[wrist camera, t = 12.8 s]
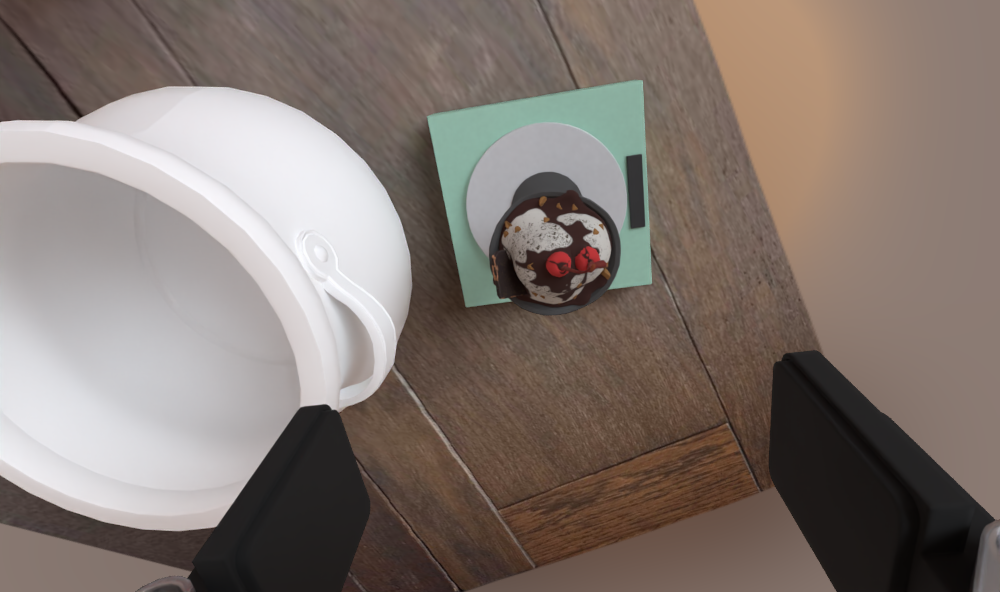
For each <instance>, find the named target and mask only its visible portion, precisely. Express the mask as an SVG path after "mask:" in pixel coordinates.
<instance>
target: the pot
mask: <svg viewBox="0 0 1000 592" xmlns="http://www.w3.org/2000/svg"><path fill="white" fill-rule="evenodd" d="M411 291H412V276H411V261H410V253H409V249H408V246H407V242H406V238H405V235H404V231H403V227H402V224H401V221H400V218H399V216H398V214H397V212H396V210H395V208H394V206H393V204H392V202H391V200H390V198H389V196H388V194H387V192H386V190H385V188H384V187H383V185H382V184H381V183H380V181H379V180H378V178H377V177H376V176H375V174H374V173H373V172H372V170H371V169H370V168H369V166H368V165H367V163H366V162H365V161H364V160H363V159H362V158H361V157H360V156H359V155H358V154H357V153H356V152H354V151H353V150H352V149H351V148H350V147H349V146H348V145H347V144H346V143H345V142H344V141H343V140H342V139H341V138H340V137H339V136H337V135H336V134H335V133H334V132H332V131H331V130H329V129H328V128H326V127H325V126H323V125H322V124H320V123H319V122H317V121H316V120H314V119H313V118H311V117H310V116H308V115H307V114H305V113H304V112H302V111H300V110H298V109H295V108H293V107H291V106H288V105H286V104H284V103H281V102H279V101H277V100H275V99H272V98H270V97H268V96H265V95H260V94H256V93H251V92H247V91H242V90H238V89H233V88H229V87H177V86H168V87H164V88H159V89H155V90H150V91H146V92H141V93H137V94H132V95H130V96H127V97H125V98H122V99H120V100H117V101H115V102H112V103H109V104H107V105H105V106H104V107H102V108H100V109H98V110H96V111H94V112H92V113H90V114H88V115H86V116H84V117H82V118H80V119H78V120H77V121H76V122H72V121H42V120H16V121H5V122H0V475H1V476H2V477H4V478H6V479H7V480H9V481H11V482H12V483H14V484H16V485H17V486H19V487H21V488H22V489H24V490H26V491H27V492H29V493H31V494H33V495H35V496H38V497H40V498H42V499H44V500H46V501H49V502H51V503H53V504H55V505H57V506H60V507H62V508H64V509H66V510H69V511H72V512H75V513H78V514H81V515H84V516H87V517H91V518H94V519H97V520H100V521H103V522H107V523H112V524H117V525H122V526H128V527H133V528H138V529H145V530H167V531H185V530H194V529H203V528H213V527H217V525H218V524H219V522H220V521H221V519H222V518H223V517H224V515H225V514H226V512H227V511H228V509H229V508H230V507H231V505H232V504H233V502H234V501H235V499H236V498H237V497H238V495H239V494H240V492H241V491H242V489H243V488H244V486H245V485H246V484H247V482H248V481H249V479H250V478H251V476H252V475H253V474H254V472H255V471H256V469H257V468H258V466H259V465H260V464H261V462H262V461H263V459H264V458H265V456H266V455H267V454H268V452H269V451H270V449H271V448H272V446H273V445H274V444H275V442H276V441H277V439H278V438H279V436H280V435H281V433H282V432H283V431H284V429H285V428H286V426H287V425H288V423H289V422H290V421H291V419H292V418H293V416H294V415H295V413H296V412H297V411H298V409H299V408H300V407H304V406H313V405H322V404H327V405H329V406H330V407H331V409H332V410H337V411H338V412H341V411H342V410H344V409H345V408H346V407H347V406H350V405H354V404H356V403H359V402H361V401H363V400H365V399H366V398H368V397H369V396H371V395H372V394H373V393H374V392H375V391H376V390H377V389H378V388H379V386H380V385H381V383H382V382H383V381H384V379H385V378H386V376H387V374H388V373H389V371H390V369H391V367H392V365H393V363H394V359H395V352H396V344H397V342H398V339H399V337H400V334H401V331H402V329H403V326H404V324H405V321H406V319H407V316H408V311H409V304H410V298H411Z"/></svg>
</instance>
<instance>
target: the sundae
mask: <svg viewBox="0 0 1000 592" xmlns="http://www.w3.org/2000/svg"><path fill="white" fill-rule="evenodd" d="M620 258H621V241H620V237H619V233H618V230H617V227H616V225H615V223H614V221H613V220H612V218H611V217H610V215H609V214H608V213H607V212H606V211H605V210H604V209H603V208H602V207H600V206H599V205H598V204H596V203H595V202H593V201H592V200H590V199H588V198H585V197H583V196H582V194H581V192H580V190H579V188H578V186H577V185H576V184H575V183H574V182H573V181H572V180H571V179H570V178H568V177H567V176H565V175H562V174H560V173H556V172H541V173H537V174H535V175H532V176H530V177H529V178H527V179H525V180H524V181H523V182H522V183H521V184H520V186H519V187H518V188H517V190H516V191H515V194H514V196H513V200H512V204H511V206H510V208H509V209H508V210H507V211H506V212H505V213H504V215H503V216H502V218H501V219H500V221H499V222H498V224H497V225H496V228H495V230H494V233H493V235H492V238H491V242H490V246H489V264H490V270H491V272H492V275H493V284H494V285H495V286H496V291H497V296H498V297H499V299H505V298H509V299H510V300H511V301H512V302H514V303H515V304H516V305H518V306H519V307H520V308H522V309H525V310H527V311H530V312H532V313H536V314H540V315H561V314H567V313H570V312H573V311H576V310H578V309H581V308H583V307H585V306H587V305H589V304H591V303H593V302H594V301H596V300H597V299H598V298H599V297H601V296H602V295H603V294H604V293H605V292H606V291H607V290H608V289H609V288H610V286H611V284H612V282H613V281H614V279H615V277H616V274H617V271H618V269H619V266H620Z"/></svg>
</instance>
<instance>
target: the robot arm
mask: <svg viewBox="0 0 1000 592" xmlns="http://www.w3.org/2000/svg"><path fill="white" fill-rule="evenodd" d="M769 472H770V476H771V479H772V481H773V483H774V485H775V487H776V489H777V490H778V492H779V494H780V495H781V497H782V499H783V501H784V502H785V504H786V506H787V507H788V509H789V511H790V512H791V514H792V516H793V518H794V519H795V521H796V523H797V525H798V526H799V528H800V530H801V531H802V533H803V535H804V536H805V538H806V540H807V542H808V543H809V545H810V547H811V548H812V550H813V552H814V553H815V555H816V557H817V559H818V560H819V562H820V564H821V565H822V567H823V569H824V570H825V572H826V574H827V576H828V578H829V579H830V581H831V583H832V584H833V586H834V588H835V589H836V591H837V592H1000V520H995V519H994V518H993V517H992V516H991V515H990V514H989V513H988V512H987V511H986V510H985V509H984V508H983V507H981V505H979V504H978V503H977V502H976V501H975V500H974V499H973V498H972V497H971V496H970V495H969V494H968V493H967V492H966V491H965V490H964V489H963V488H962V487H961V486H960V485H959V484H958V483H957V482H956V481H955V480H954V479H953V478H952V477H951V476H950V475H949V474H948V473H946V472H945V471H944V470H943V469H942V468H941V467H940V466H939V465H938V464H937V463H936V462H935V461H934V460H933V459H932V458H931V457H930V456H929V455H928V454H927V453H926V452H925V451H924V450H923V449H922V448H921V447H920V446H919V445H917V444H916V442H914V441H913V440H912V439H911V438H910V437H909V436H908V435H907V434H906V433H905V432H904V431H903V430H902V429H901V428H900V427H899V426H898V425H897V424H896V423H894V421H893V420H891V418H889V417H888V416H887V415H885V414H884V413H881V412H880V411H879V410H878V409H877V408H876V407H875V406H874V405H873V404H872V403H871V402H870V401H869V400H868V399H867V398H866V397H865V396H864V395H863V394H862V393H861V392H860V391H859V390H858V389H857V388H856V387H855V386H853V385H852V383H851V382H849V381H848V380H847V379H846V378H845V377H844V376H843V375H842V374H841V373H840V372H839V371H838V370H837V369H836V368H835V367H834V366H833V365H832V364H831V363H830V362H829V361H828V360H827V359H826V358H825V357H824V356H823V355H822V354H821V353H820V352H818V351H815V350H813V351H804V352H795V353H786V354H784V355H783V358H782V361H779V362H775V364H774V367H773V385H772V406H771V426H770V447H769ZM369 514H370V499H369V496H368V493H367V490H366V488H365V485H364V482H363V479H362V476H361V474H360V471H359V468H358V465H357V462H356V459H355V457H354V454H353V451H352V448H351V445H350V442H349V440H348V437H347V434H346V431H345V428H344V426H343V423H342V420H341V417H340V415H339V412H338V411H337V410H332V409H331V407H330V406H329V405H327V404H322V405H313V406H304V407H300V408H299V409H298V411H297V412H296V413H295V415H294V416H293V418H292V419H291V421H290V422H289V423H288V425H287V426H286V428H285V429H284V431H283V432H282V433H281V435H280V436H279V438H278V439H277V441H276V442H275V444H274V445H273V446H272V448H271V449H270V451H269V452H268V454H267V455H266V456H265V458H264V459H263V461H262V462H261V464H260V465H259V466H258V468H257V469H256V471H255V472H254V474H253V475H252V476H251V478H250V479H249V481H248V482H247V484H246V485H245V486H244V488H243V489H242V491H241V492H240V494H239V495H238V497H237V498H236V499H235V501H234V502H233V504H232V505H231V507H230V508H229V509H228V511H227V512H226V514H225V515H224V517H223V518H222V519H221V521H220V522H219V524H218V525H217V527H216V528H215V529H214V531H213V532H212V534H211V535H210V537H209V538H208V539H207V541H206V542H205V544H204V545H203V547H202V548H201V550H200V551H199V552H198V554H197V555H196V557H195V558H194V560H193V561H192V563H193V565H194V566H195V568H194V569H193V571H192V572H191V574H190V575H189V577H188V578H185V577H183V576H169V577H165V578H161V579H158V580H155V581H153V582H151V583H149V584H147V585H145V586H143V587H141V588H140V589H138V590H137V591H135V592H341V591H342V588H343V585H344V582H345V580H346V577H347V574H348V572H349V569H350V566H351V564H352V561H353V558H354V555H355V553H356V550H357V547H358V545H359V542H360V539H361V537H362V534H363V531H364V528H365V526H366V523H367V520H368V518H369Z"/></svg>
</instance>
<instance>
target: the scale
mask: <svg viewBox="0 0 1000 592" xmlns="http://www.w3.org/2000/svg"><path fill="white" fill-rule="evenodd" d="M427 120H428V125H429V130H430V134H431V139H432V144H433V149H434V154H435V159H436V164H437V169H438V174H439V178H440V183H441V188H442V193H443V198H444V203H445V208H446V213H447V218H448V222H449V227H450V232H451V237H452V242H453V247H454V252H455V257H456V262H457V267H458V271H459V276H460V281H461V286H462V291H463V296H464V301H465V306H466V307H472V306H480V305H488V304H496V303H504V302H512V301H511V300H510V299H509V298H505V299H499V297H498V296H497V291H496V286H495V285H494V284H493V275H492V272H491V270H490V264H489V246H490V242H491V238H492V235H493V233H494V230H495V228H496V225H497V224H498V222H499V221H500V219H501V218H502V216H503V215H504V213H505V212H506V211H507V210H508V209H509V208H510V206H511V204H512V200H513V196H514V194H515V191H516V190H517V188H518V187H519V186H520V184H521V183H522V182H523V181H524V180H525V179H527V178H529V177H530V176H532V175H535V174H537V173H541V172H556V173H560V174H562V175H565V176H567V177H568V178H570V179H571V180H572V181H573V182H574V183H575V184H576V185H577V186H578V188H579V190H580V192H581V194H582V196H583V197H585V198H588V199H590V200H592V201H593V202H595V203H596V204H598V205H599V206H600V207H602V208H603V209H604V210H605V211H606V212H607V213H608V214H609V215H610V217H611V218H612V220H613V221H614V223H615V225H616V227H617V230H618V233H619V237H620V241H621V258H620V266H619V269H618V271H617V274H616V277H615V279H614V281H613V282H612V284H611V286H610V288H609V289H616V288H624V287H632V286H640V285H648V284H652V276H651V254H650V232H649V209H648V187H647V165H646V143H645V121H644V99H643V81H642V80H631V81H625V82H619V83H613V84H607V85H601V86H595V87H590V88H584V89H578V90H572V91H566V92H560V93H554V94H548V95H542V96H536V97H530V98H524V99H518V100H512V101H506V102H500V103H495V104H489V105H483V106H477V107H471V108H465V109H459V110H453V111H447V112H441V113H435V114H432V115H430V116H427Z"/></svg>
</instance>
